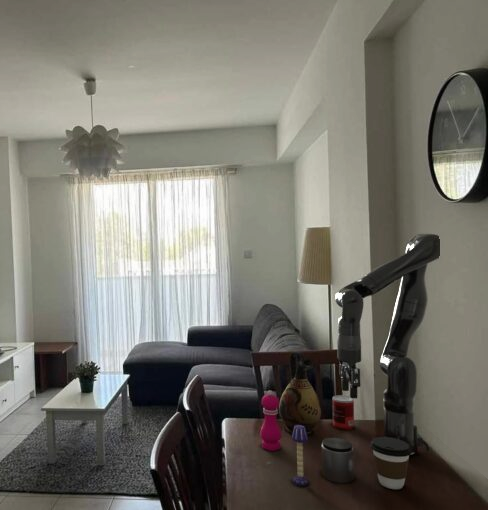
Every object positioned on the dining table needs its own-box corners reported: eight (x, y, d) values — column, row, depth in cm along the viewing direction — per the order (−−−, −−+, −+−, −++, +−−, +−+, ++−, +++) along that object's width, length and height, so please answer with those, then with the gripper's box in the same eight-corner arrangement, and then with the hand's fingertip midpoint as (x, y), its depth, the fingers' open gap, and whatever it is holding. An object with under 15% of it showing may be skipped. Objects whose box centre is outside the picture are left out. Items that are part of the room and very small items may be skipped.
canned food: (353, 423, 184) (352, 396, 184) (355, 430, 177) (354, 402, 177) (332, 421, 187) (332, 394, 187) (333, 428, 179) (333, 400, 179)
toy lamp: (290, 478, 140) (289, 423, 140) (304, 478, 141) (304, 423, 141) (296, 486, 136) (295, 429, 136) (311, 485, 136) (310, 429, 136)
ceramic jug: (330, 435, 173) (328, 355, 173) (293, 440, 169) (291, 358, 169) (304, 420, 189) (302, 346, 189) (269, 424, 185) (268, 349, 185)
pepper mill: (279, 443, 167) (278, 387, 167) (283, 451, 160) (282, 393, 160) (259, 442, 168) (258, 387, 168) (262, 451, 160) (261, 393, 160)
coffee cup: (411, 497, 129) (410, 454, 129) (368, 487, 135) (367, 446, 135) (413, 480, 138) (412, 440, 138) (372, 472, 144) (372, 433, 144)
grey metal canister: (348, 469, 146) (347, 437, 146) (357, 483, 137) (357, 449, 137) (318, 468, 147) (318, 437, 147) (326, 482, 138) (325, 448, 138)
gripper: (368, 351, 151) (368, 401, 151) (353, 343, 166) (353, 388, 166) (344, 351, 152) (344, 400, 152) (331, 342, 166) (331, 388, 166)
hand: (349, 394), depth 159 cm, fingers open, 8 cm apart
